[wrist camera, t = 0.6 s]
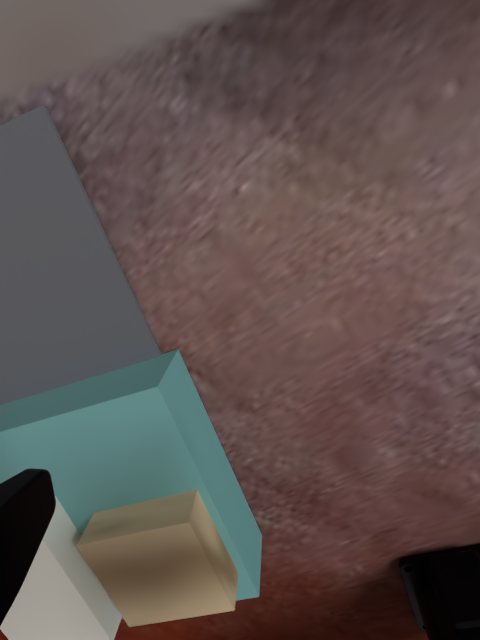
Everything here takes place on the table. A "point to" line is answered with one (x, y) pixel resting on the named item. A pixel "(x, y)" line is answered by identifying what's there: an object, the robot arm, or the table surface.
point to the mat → (57, 272)
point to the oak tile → (161, 560)
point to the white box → (61, 592)
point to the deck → (132, 451)
